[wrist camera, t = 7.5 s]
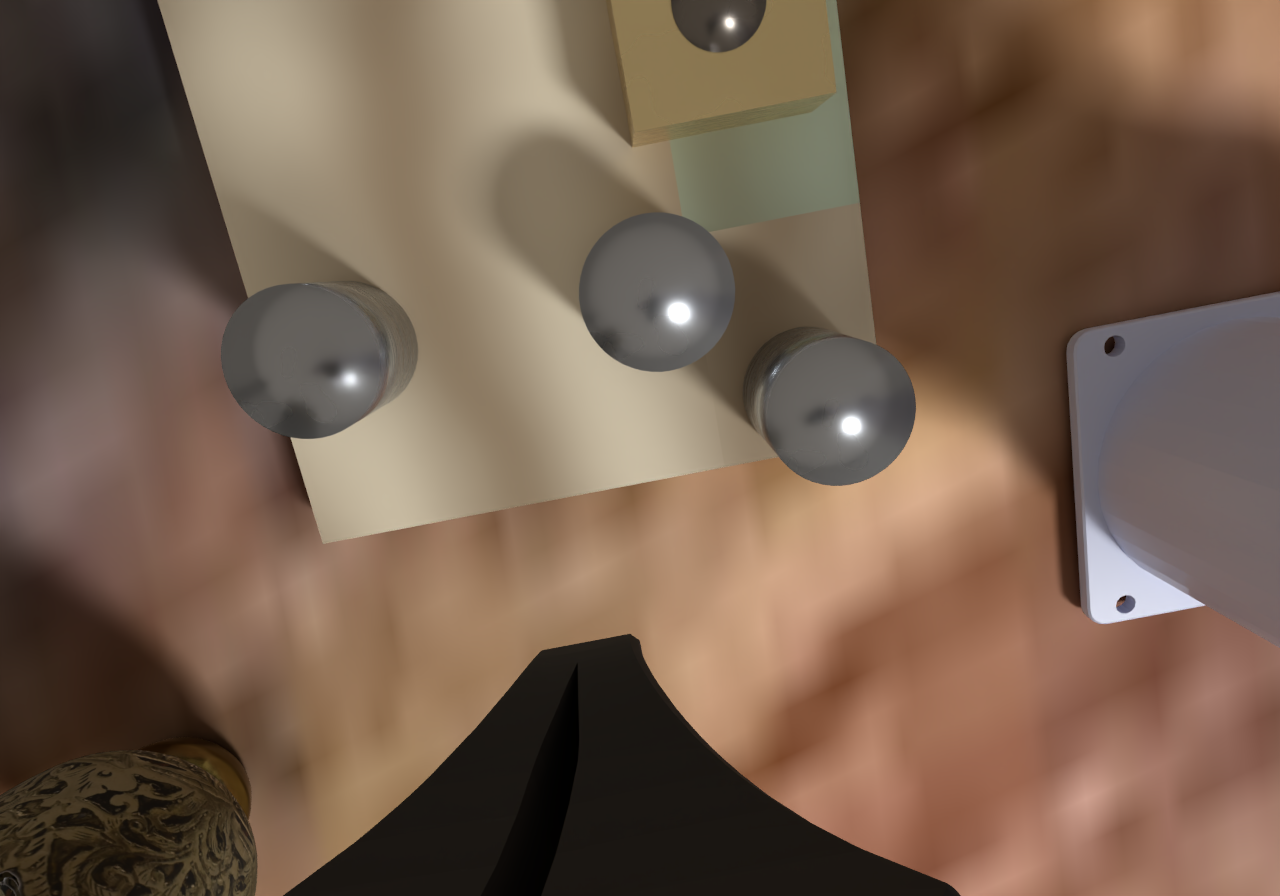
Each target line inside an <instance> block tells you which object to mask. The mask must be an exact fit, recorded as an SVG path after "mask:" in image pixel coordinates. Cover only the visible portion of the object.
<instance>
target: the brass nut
mask: <svg viewBox="0 0 1280 896" xmlns="http://www.w3.org/2000/svg"><path fill="white" fill-rule="evenodd" d="M606 4H607V10H608V15H609V21H610V27H611V32H612V38H613V43H614V49H615V54H616V60H617V65H618V71H619V76H620V82H621V88H622V93H623V99H624V104H625V110H626V115H627V121H628V126H629V132H630V138H631V143H632V148H633V147H638V146H643V145H648V144H653V143H658V142H663V141H668V140H674V139H679V138H684V137H689V136H694V135H699V134H704V133H709V132H714V131H719V130H724V129H729V128H735V127H740V126H745V125H750V124H755V123H760V122H765V121H770V120H775V119H780V118H785V117H790V116H795V115H801V114H806V113H811V112H812V111H814V110H815V109H816V108H817V107H819V106H820V105H821V104H823V103H824V102H825V101H826V100H828V99H829V98H830V97H831V96H833V95H834V94H835V93H836V92H837V91H836V82H835V74H834V65H833V57H832V49H831V40H830V32H829V23H828V15H827V7H826V0H606Z"/></svg>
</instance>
